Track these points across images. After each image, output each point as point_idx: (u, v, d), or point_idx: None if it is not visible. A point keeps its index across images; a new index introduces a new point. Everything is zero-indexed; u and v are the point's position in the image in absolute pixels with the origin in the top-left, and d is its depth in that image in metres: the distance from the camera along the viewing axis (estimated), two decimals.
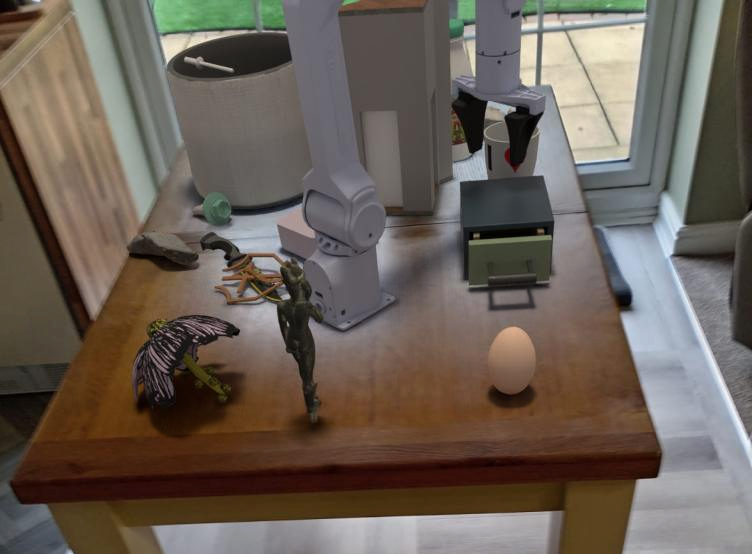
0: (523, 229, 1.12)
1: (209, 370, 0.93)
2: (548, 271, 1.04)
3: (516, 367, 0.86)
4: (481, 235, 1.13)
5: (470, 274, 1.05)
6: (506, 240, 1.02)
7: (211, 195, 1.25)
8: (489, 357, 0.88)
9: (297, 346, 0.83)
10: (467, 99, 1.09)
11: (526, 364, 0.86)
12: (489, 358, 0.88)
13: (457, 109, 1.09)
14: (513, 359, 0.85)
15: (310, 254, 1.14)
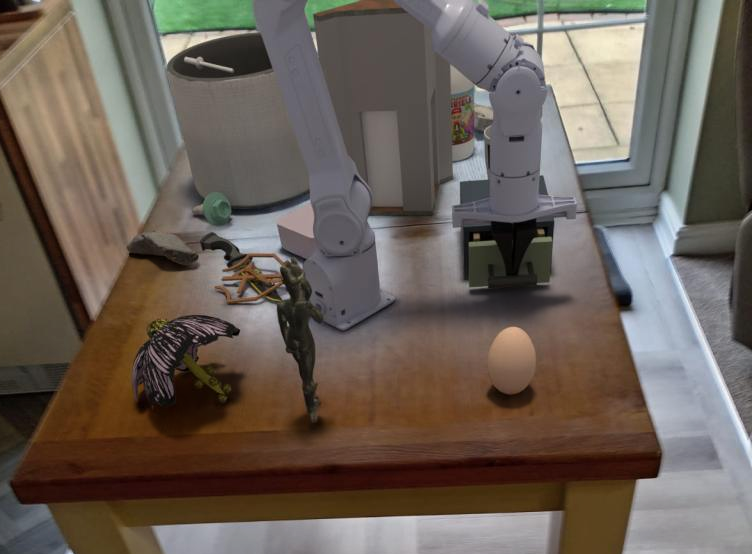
0: None
1: (209, 370, 0.93)
2: (548, 273, 1.04)
3: (516, 367, 0.86)
4: (481, 236, 1.13)
5: (470, 276, 1.05)
6: None
7: (211, 195, 1.25)
8: (489, 357, 0.88)
9: (297, 346, 0.83)
10: (506, 225, 0.96)
11: (526, 364, 0.86)
12: (489, 358, 0.88)
13: (503, 239, 0.96)
14: (513, 359, 0.85)
15: (310, 254, 1.14)
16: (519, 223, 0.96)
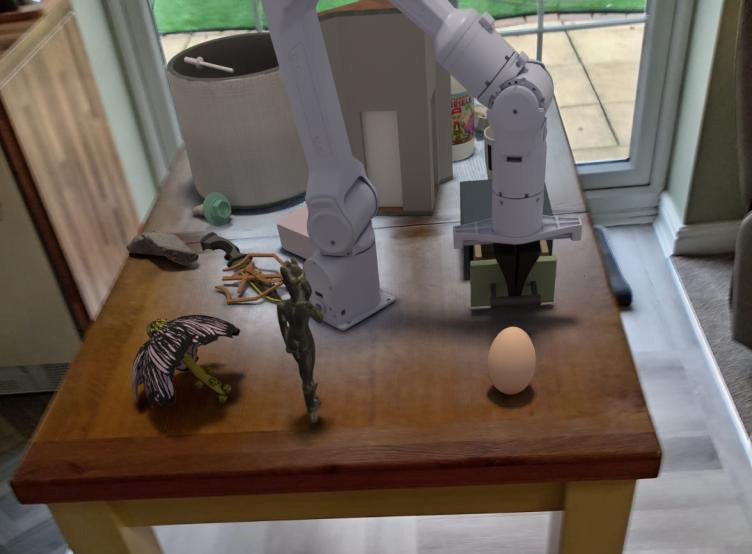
0: None
1: (209, 370, 0.93)
2: (553, 292, 1.00)
3: (516, 367, 0.86)
4: (483, 253, 1.09)
5: (472, 295, 1.01)
6: None
7: (211, 195, 1.25)
8: (489, 357, 0.88)
9: (297, 346, 0.83)
10: (509, 247, 0.93)
11: (526, 364, 0.86)
12: (489, 358, 0.88)
13: (506, 261, 0.93)
14: (513, 359, 0.85)
15: (310, 254, 1.14)
16: (522, 244, 0.93)
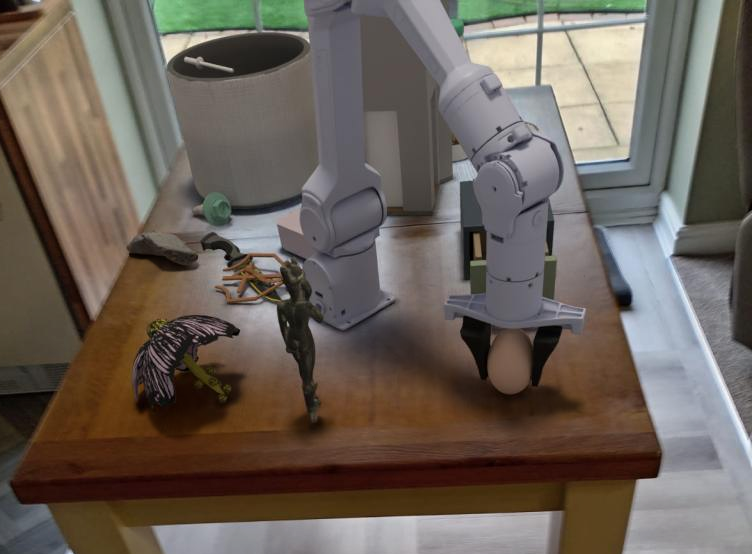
0: None
1: (209, 370, 0.93)
2: (553, 292, 1.00)
3: (516, 367, 0.86)
4: (483, 253, 1.09)
5: None
6: None
7: (211, 195, 1.25)
8: (489, 357, 0.88)
9: (297, 346, 0.83)
10: (478, 325, 0.85)
11: (526, 364, 0.86)
12: (489, 358, 0.88)
13: (471, 340, 0.85)
14: (513, 359, 0.85)
15: (310, 254, 1.14)
16: (541, 330, 0.83)
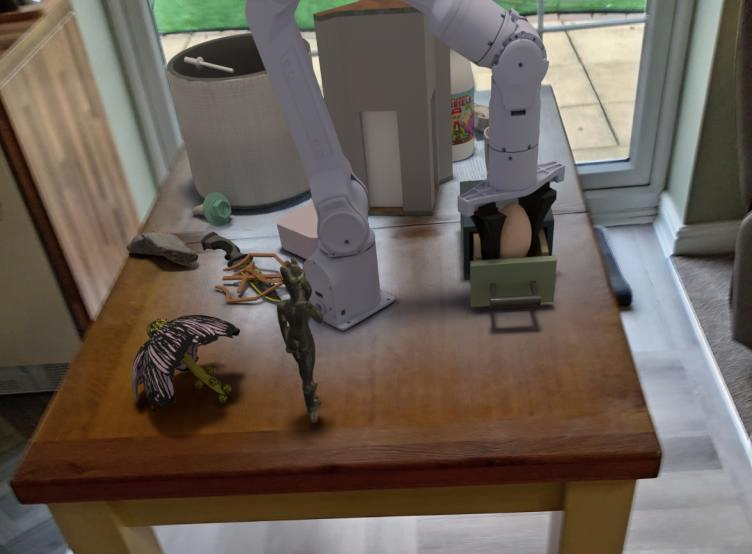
0: None
1: (209, 370, 0.93)
2: (553, 292, 1.00)
3: (528, 232, 0.99)
4: (483, 253, 1.09)
5: (472, 295, 1.01)
6: (509, 261, 0.98)
7: (211, 195, 1.25)
8: (501, 236, 0.98)
9: (297, 346, 0.83)
10: (493, 209, 0.95)
11: (530, 226, 0.99)
12: (502, 237, 0.98)
13: (498, 222, 0.95)
14: (525, 225, 0.98)
15: (310, 254, 1.14)
16: (537, 191, 0.97)
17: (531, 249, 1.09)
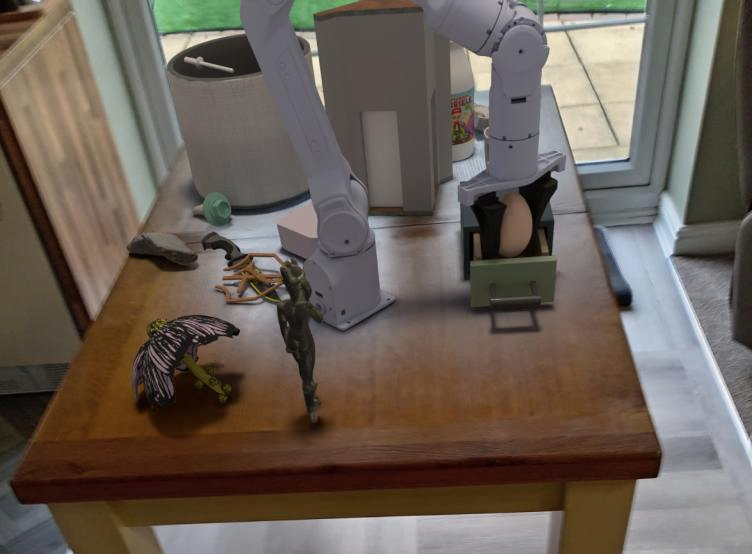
0: (526, 247, 1.09)
1: (209, 370, 0.93)
2: (553, 292, 1.00)
3: (529, 222, 0.98)
4: (483, 253, 1.09)
5: (472, 295, 1.01)
6: (509, 261, 0.98)
7: (211, 195, 1.25)
8: (502, 227, 0.98)
9: (297, 346, 0.83)
10: (493, 198, 0.95)
11: (531, 217, 0.98)
12: (502, 227, 0.98)
13: (498, 211, 0.94)
14: (526, 215, 0.97)
15: (310, 254, 1.14)
16: (538, 180, 0.96)
17: (531, 249, 1.09)
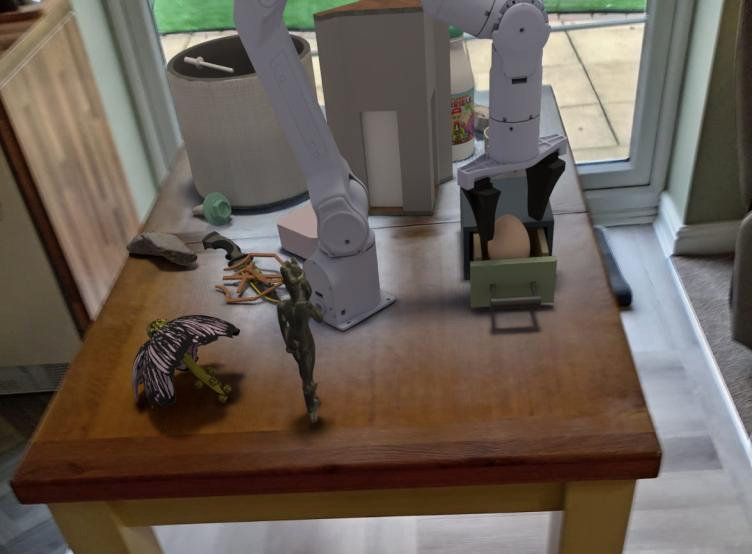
0: None
1: (209, 370, 0.93)
2: (553, 293, 1.00)
3: (525, 242, 1.00)
4: (483, 254, 1.09)
5: (472, 296, 1.01)
6: (509, 261, 0.98)
7: (211, 195, 1.25)
8: (498, 249, 1.00)
9: (297, 346, 0.83)
10: (487, 184, 0.93)
11: (528, 237, 1.00)
12: (499, 250, 1.00)
13: (492, 197, 0.92)
14: (522, 237, 0.99)
15: (310, 254, 1.14)
16: (545, 161, 0.95)
17: (531, 249, 1.09)
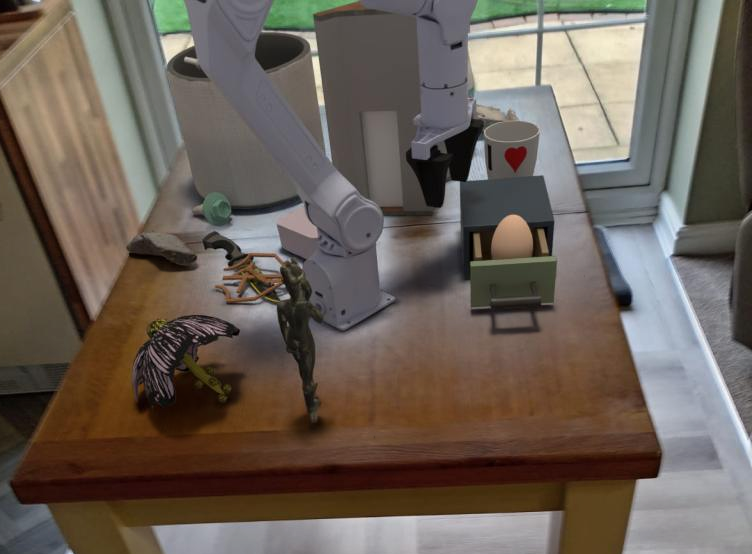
0: None
1: (209, 370, 0.93)
2: (553, 293, 1.00)
3: (529, 244, 1.00)
4: (483, 254, 1.09)
5: (472, 296, 1.01)
6: (509, 261, 0.98)
7: (211, 195, 1.25)
8: (503, 248, 1.00)
9: (297, 346, 0.83)
10: (437, 152, 0.97)
11: (532, 239, 1.01)
12: (503, 249, 1.00)
13: (447, 162, 0.96)
14: (527, 238, 0.99)
15: (310, 254, 1.14)
16: None
17: None
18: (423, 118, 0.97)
